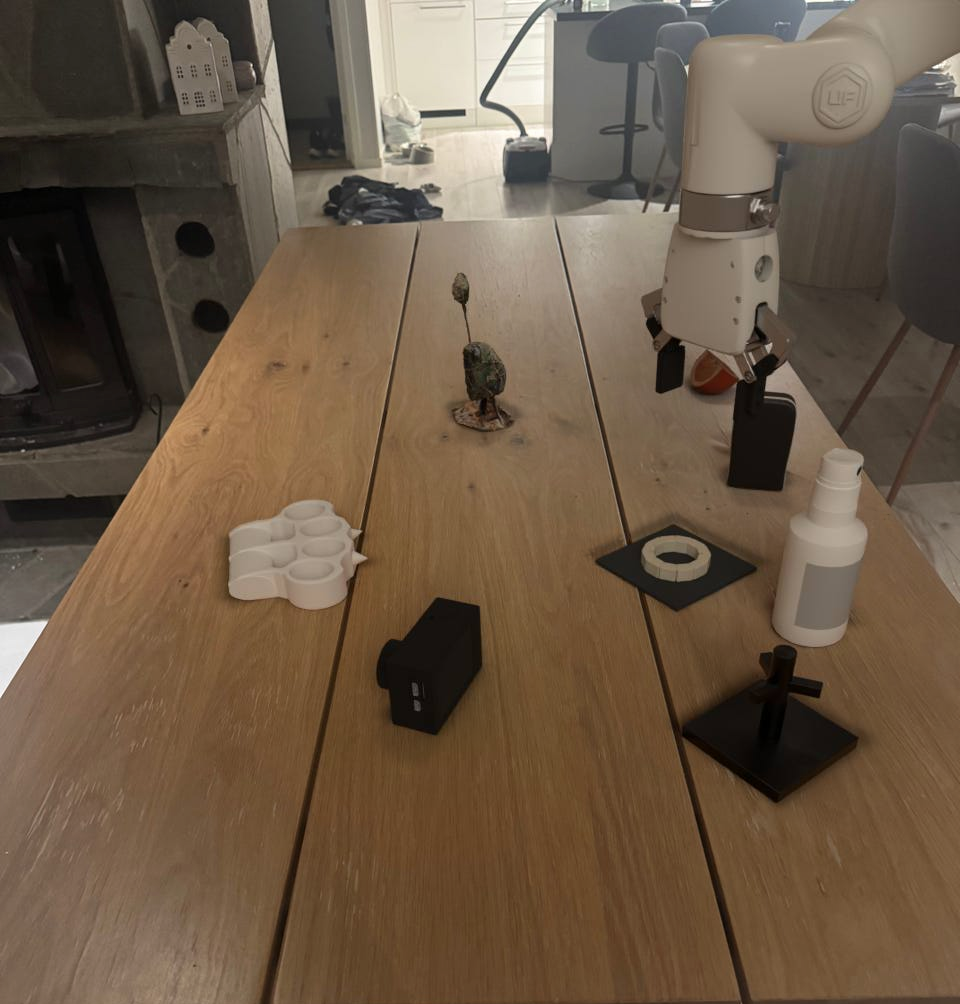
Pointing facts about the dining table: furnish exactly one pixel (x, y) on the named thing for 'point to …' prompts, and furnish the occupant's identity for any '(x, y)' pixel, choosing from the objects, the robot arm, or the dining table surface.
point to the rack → (772, 730)
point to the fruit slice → (712, 374)
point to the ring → (672, 570)
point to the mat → (672, 593)
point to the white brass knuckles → (294, 556)
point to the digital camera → (432, 665)
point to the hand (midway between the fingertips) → (706, 404)
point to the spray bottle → (822, 556)
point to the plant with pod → (480, 376)
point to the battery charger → (763, 445)
